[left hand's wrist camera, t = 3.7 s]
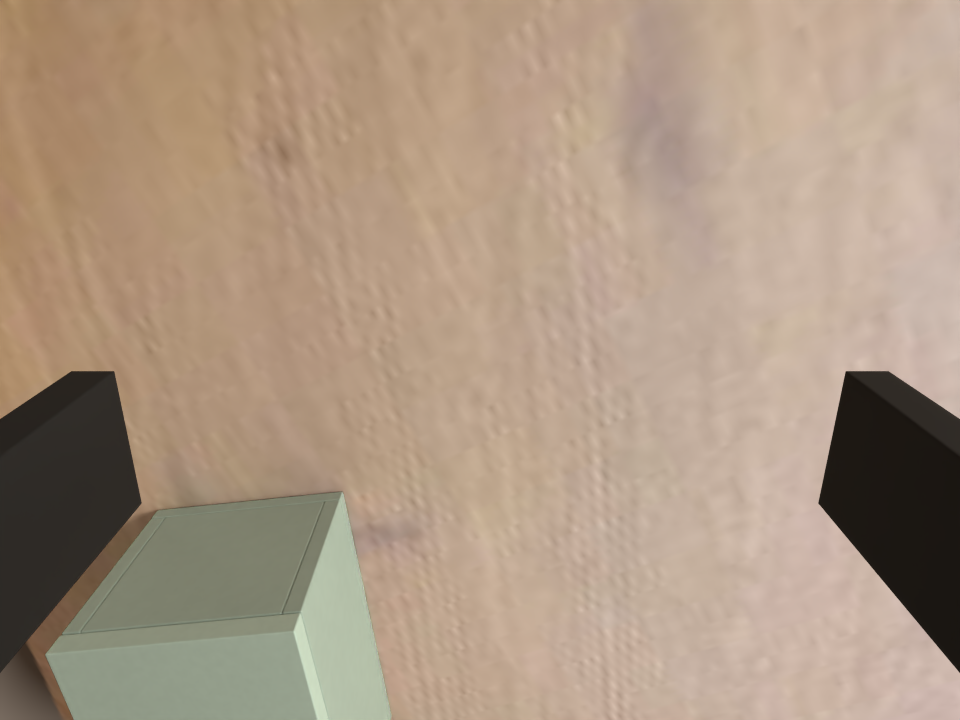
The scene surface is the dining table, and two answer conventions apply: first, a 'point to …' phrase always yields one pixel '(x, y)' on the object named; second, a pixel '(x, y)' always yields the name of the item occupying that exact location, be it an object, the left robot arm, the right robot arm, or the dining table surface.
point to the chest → (254, 585)
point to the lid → (191, 672)
